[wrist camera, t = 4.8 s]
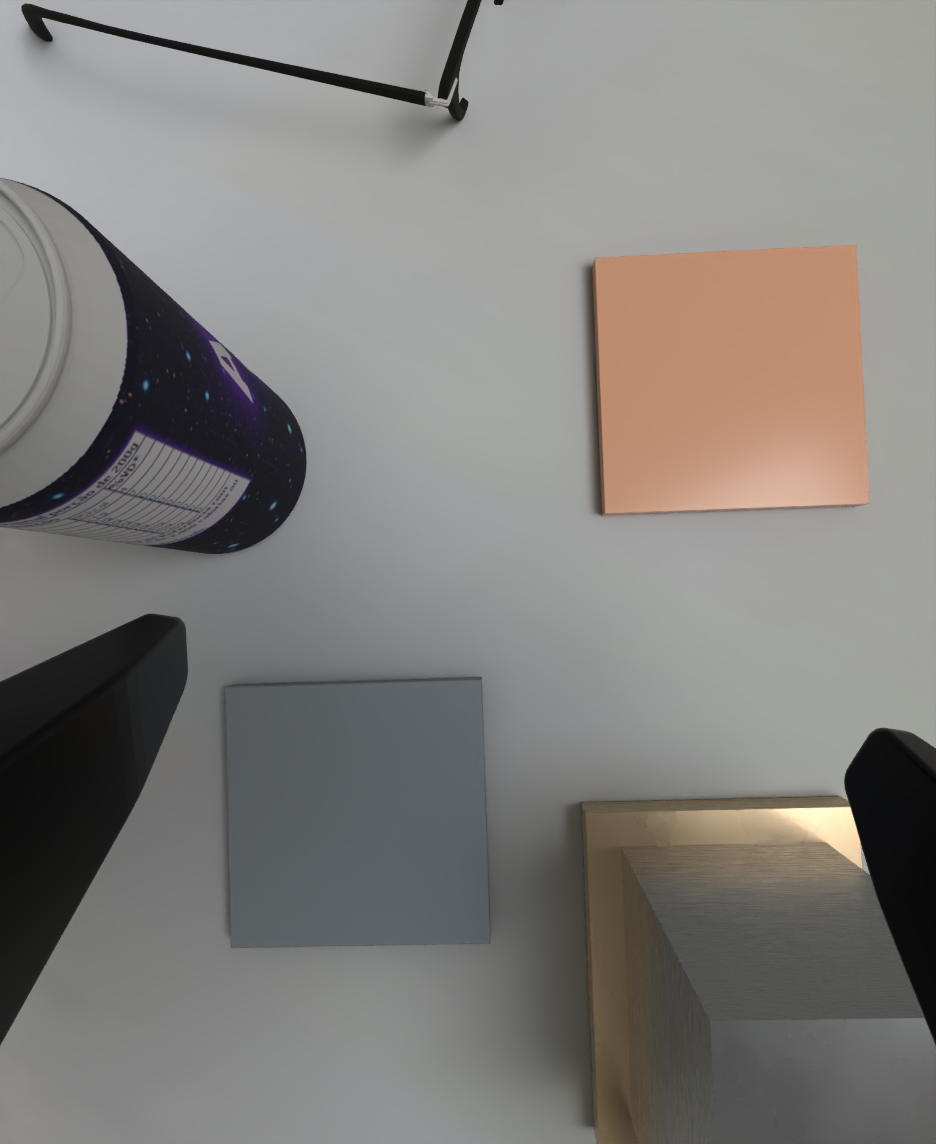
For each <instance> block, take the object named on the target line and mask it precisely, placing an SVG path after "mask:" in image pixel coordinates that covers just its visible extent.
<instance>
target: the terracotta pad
mask: <svg viewBox="0 0 936 1144" xmlns="http://www.w3.org/2000/svg"><path fill="white" fill-rule="evenodd" d="M592 275H593V300H594V326H595V351H596V376H597V401H598V426H599V451H600V476H601V502H602V516H605V515H632V514H659V513H685V512H712V511H739V510H766V509H793V508H820V507H847V506H861V505H865V504H870V502H869V482H868V463H867V444H866V424H865V405H864V385H863V366H862V347H861V327H860V308H859V289H858V269H857V250H856V245H842V246H822V247H802V248H782V249H762V250H742V251H722V252H702V253H682V254H662V255H642V256H622V257H602V258H595V260H594V263H593V266H592Z"/></svg>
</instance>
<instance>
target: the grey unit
mask: <svg viewBox="0 0 936 1144" xmlns="http://www.w3.org/2000/svg"><path fill="white" fill-rule="evenodd" d="M581 805H582V831H583V857H584V883H585V909H586V935H587V961H588V987H589V1013H590V1040H591V1066H592V1092H593V1118H594V1131H595V1137H596V1142H597V1144H936V1045H935V1043H934V1040H933V1038H932V1035H931V1033H930V1030H929V1028H928V1025H927V1023H926V1020H925V1018H924V1015H923V1013H922V1010H921V1008H920V1005H919V1003H918V1000H917V998H916V995H915V993H914V990H913V988H912V985H911V983H910V980H909V978H908V975H907V973H906V970H905V968H904V965H903V963H902V960H901V958H900V955H899V953H898V950H897V948H896V945H895V943H894V940H893V938H892V935H891V933H890V930H889V928H888V925H887V923H886V920H885V918H884V915H883V912H882V909H881V907H880V904H879V901H878V899H877V895H876V892H875V889H874V886H873V883H872V880H871V876H870V875H869V874H868V873H866V872H865V871H864V870H862V866H861V846H860V839H859V835H858V832H857V828H856V825H855V822H854V818H853V815H852V811H851V808H850V804H849V801H848V800H846V799H844V798H842V797H841V796H837V797H794V798H751V799H708V800H665V801H622V802H581Z"/></svg>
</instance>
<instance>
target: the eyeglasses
mask: <svg viewBox="0 0 936 1144" xmlns="http://www.w3.org/2000/svg"><path fill="white" fill-rule="evenodd" d="M503 1H504V0H494V4H495V5H502V4H503ZM480 3H481V0H468V1H467V4H466V7H465V10H464V12H463V15H462V18H461V21H460V24H459V27H458V30H457V33H456V36H455V39H454V42H453V45H452V48H451V51H450V54H449V56H448V59H447V62H446V65H445V68H444V71H443V74H442V77H441V81H440V85H439V91H438V98H434V96H433V95H432V94H430V92H429V90H425V92H422V91H417V90H412V89H407V88H402V87H397V86H393V85H388V84H383V83H378V82H373V81H368V80H363V79H358V78H353V77H348V76H343V75H338V74H333V73H329V72H324V71H319V70H314V69H309V68H304V67H299V66H294V65H289V64H284V63H279V62H274V61H269V60H264V59H260V58H255V57H250V56H245V55H240V54H235V53H230V52H225V51H220V50H215V49H210V48H206V47H201V46H196V45H192V44H187V43H182V42H178V41H173V40H168V39H164V38H159V37H154V36H150V35H145V34H141V33H137V32H133V31H128V30H124V29H120V28H116V27H111V26H107V25H103V24H99V23H96V22H92V21H89V20H85V19H82V18H78V17H74V16H71V15H67V14H63V13H59V12H56V11H52V10H48V9H44V8H41V7H38V6H35V5H32V4H24V5H22V12H23V15H24V17H25V19H26V21H27V22H28V24H29V26H30V28H31V29H32V30H33V32H34V33H35V34H36V35H37V36H39V37H40V38H42V39H43V40H45V41H50V42H51V41H52V40H53V38H52V35H51V34H50V32H49V31H48V29H47V28H46V26H45V24H44V22H43V21H42V18H47V19H51V20H55V21H58V22H62V23H67V24H71V25H75V26H79V27H83V28H87V29H91V30H96V31H100V32H104V33H108V34H112V35H116V36H120V37H124V38H128V39H132V40H136V41H141V42H145V43H150V44H154V45H159V46H163V47H167V48H172V49H176V50H181V51H185V52H189V53H194V54H198V55H203V56H207V57H211V58H216V59H220V60H225V61H229V62H233V63H238V64H242V65H247V66H251V67H255V68H260V69H264V70H269V71H273V72H277V73H282V74H286V75H291V76H295V77H300V78H304V79H308V80H313V81H317V82H322V83H326V84H331V85H335V86H339V87H344V88H348V89H353V90H357V91H362V92H366V93H370V94H375V95H379V96H384V97H388V98H393V99H397V100H401V101H406V102H410V103H415V104H419V105H424V106H428V107H433V106H434V105H437V106H443V107H446V108H448V110H449V112H450V114H451V116H452V117H453V118H455V119H457V120H462V119H463V117H464V115H465V113H466V110H467V107H468V101H467V100H466V99H464V98H462V99H461V101H460V103H459V94H458V87H459V71H460V66H461V62H462V57H463V54H464V50H465V47H466V44H467V41H468V38H469V35H470V32H471V29H472V26H473V23H474V21H475V18H476V15H477V12H478V9H479V6H480Z"/></svg>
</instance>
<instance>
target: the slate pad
mask: <svg viewBox="0 0 936 1144" xmlns="http://www.w3.org/2000/svg"><path fill="white" fill-rule="evenodd" d="M225 708H226V751H227V795H228V839H229V882H230V926H231V948H252V947H312V946H373V945H434V944H490V911H489V881H488V852H487V823H486V794H485V765H484V735H483V706H482V677H478V678H445V679H411V680H377V681H343V682H309V683H275V684H241V685H230V686H228V687H225Z"/></svg>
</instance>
